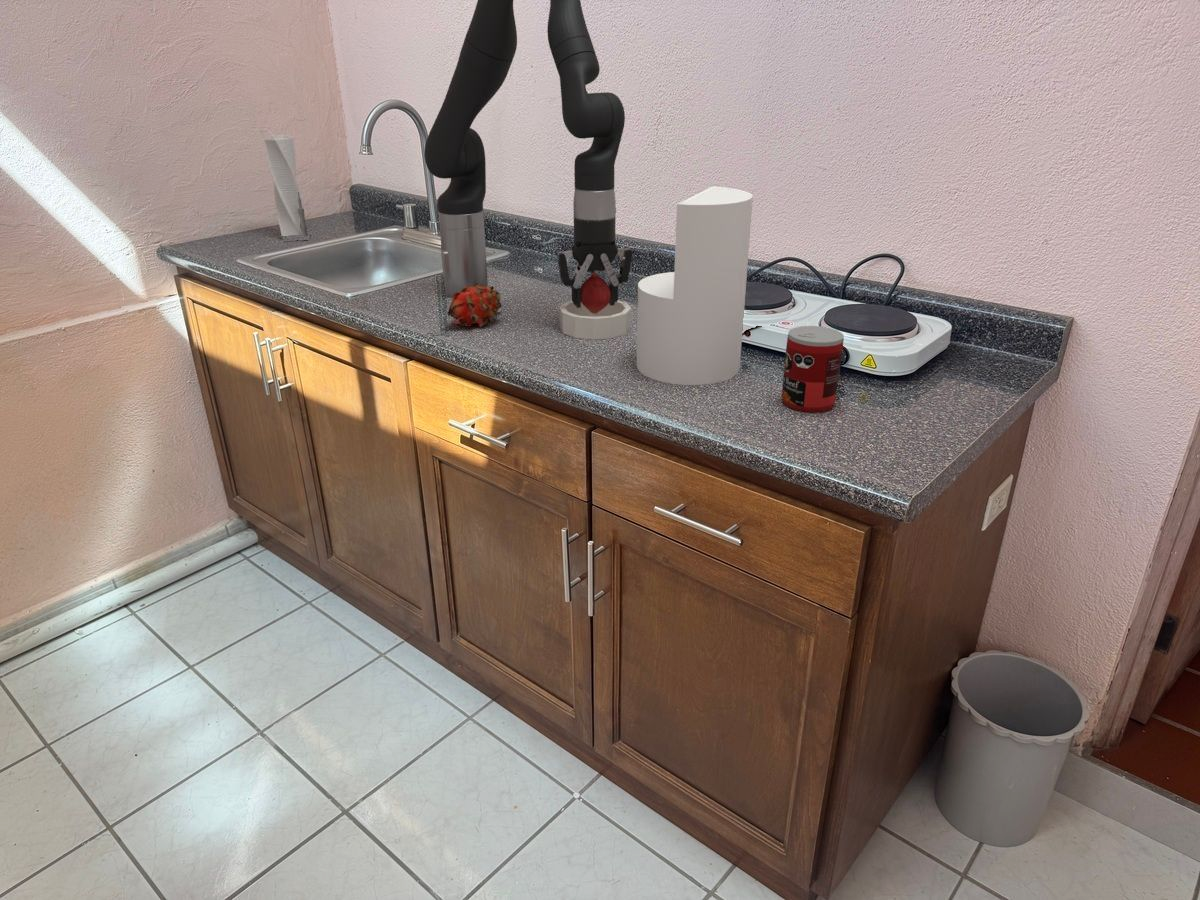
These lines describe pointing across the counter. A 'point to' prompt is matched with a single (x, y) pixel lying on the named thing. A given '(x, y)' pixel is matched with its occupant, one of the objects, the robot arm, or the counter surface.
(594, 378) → the counter surface
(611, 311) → the ramekin
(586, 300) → the onion
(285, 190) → the skyscraper
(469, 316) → the dragon fruit
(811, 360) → the canned food
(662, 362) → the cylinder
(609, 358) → the counter surface
